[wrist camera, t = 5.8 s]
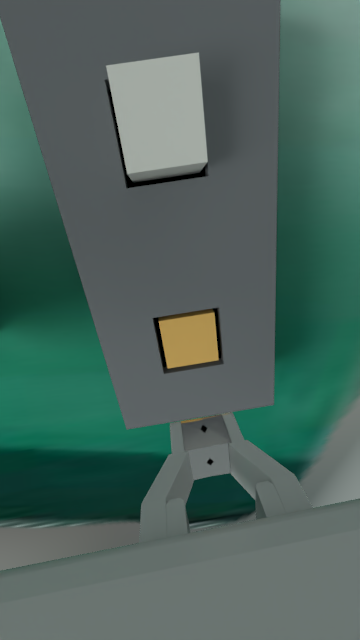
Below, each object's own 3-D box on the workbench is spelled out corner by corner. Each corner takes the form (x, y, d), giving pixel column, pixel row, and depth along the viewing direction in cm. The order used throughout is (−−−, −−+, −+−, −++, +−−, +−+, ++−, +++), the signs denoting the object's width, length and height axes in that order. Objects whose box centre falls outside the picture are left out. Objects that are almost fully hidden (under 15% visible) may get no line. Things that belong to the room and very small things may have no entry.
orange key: (166, 351, 23) (167, 368, 20) (158, 308, 21) (158, 321, 18) (211, 343, 23) (218, 360, 20) (207, 300, 21) (214, 312, 18)
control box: (133, 388, 28) (126, 429, 22) (38, 34, 16) (-25, -64, 11) (251, 368, 28) (273, 404, 22) (240, 6, 16) (281, -104, 11)
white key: (133, 182, 16) (127, 173, 13) (116, 96, 14) (106, 65, 11) (199, 172, 16) (207, 161, 13) (191, 86, 14) (198, 52, 11)
